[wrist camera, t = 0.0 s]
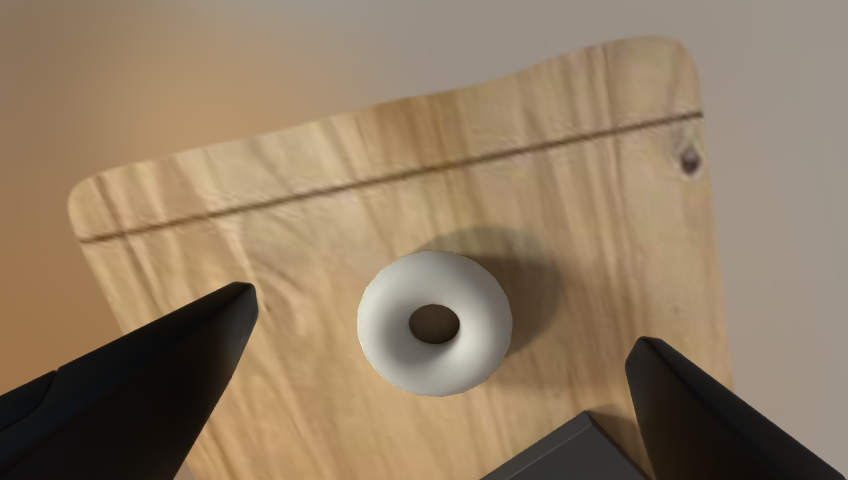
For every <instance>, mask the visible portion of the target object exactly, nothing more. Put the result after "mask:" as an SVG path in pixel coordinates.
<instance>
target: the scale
mask: <svg viewBox="0 0 848 480" xmlns="http://www.w3.org/2000/svg"><path fill="white" fill-rule="evenodd" d="M481 480H651V479H650V478H649V477H648V476H647V475H646V473H645V472H644V471H643V470H642V469H641V468H640V467H639V466H638V465H637V464H636V463H635V462H634V461H633V460H632V459H631V458H630V457H629V456H628V455H627V454H626V452H625V451H624V450H623V449H622V448H621V447H620V446H619V445H618V444H617V443H616V442H615V441H614V440H613V439H612V438H611V437H610V436H609V435H608V434H607V432H606V431H605V430H604V429H603V428H602V427H601V426H600V425H599V424H598V423H597V422H596V421H595V420H594V419H593V418H592V417H591V416H590V415H589V414H588V413H587V411H584V412H582V413H581V414H579V415H578V416H576V417H575V418H573V419H571V420H570V421H568V422H567V423H565V424H564V425H562V426H561V427H559V428H558V429H556V430H555V431H553V432H552V433H550V434H549V435H547V436H546V437H544V438H543V439H541V440H540V441H538V442H537V443H535V444H534V445H532V446H531V447H529V448H528V449H526V450H524V451H523V452H521V453H520V454H518V455H517V456H515V457H514V458H512V459H511V460H509V461H508V462H506V463H505V464H503V465H502V466H500V467H499V468H497V469H496V470H494V471H493V472H491V473H490V474H488V475H487V476H485V477H484V478H482V479H481Z"/></svg>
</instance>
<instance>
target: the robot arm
mask: <svg viewBox="0 0 848 480" xmlns="http://www.w3.org/2000/svg"><path fill="white" fill-rule="evenodd" d="M258 312H259V311H258V303H257V297H256V290H255V287H254V285H253V284H251V283H246V282H238V281H237V282H233V283H230V284H228V285H226V286H224V287H222V288H220V289H218V290H216V291H214V292H212V293H210V294H208V295H206V296H204V297H202V298H200V299H198V300H196V301H194V302H192V303H190V304H187V305H185V306H183V307H181V308H179V309H177V310H175V311H173V312H171V313H169V314H167V315H165V316H163V317H161V318H159V319H157V320H155V321H153V322H151V323H149V324H147V325H145V326H143V327H141V328H139V329H137V330H134V331H132V332H130V333H128V334H126V335H124V336H122V337H120V338H118V339H116V340H114V341H112V342H110V343H108V344H106V345H104V346H102V347H100V348H98V349H96V350H94V351H92V352H90V353H88V354H86V355H83V356H81V357H79V358H77V359H75V360H73V361H71V362H69V363H67V364H65V365H63V366H61V367H59V368H58V370H57V371H55V370H53V371H51V372H49V373H47V374H45V375H42V376H41V377H38V378H36V379H34V380H32V381H30V382H28V383H26V384H24V385H22V386H20V387H18V388H16V389H14V390H11V391H9V392H7V393H5V394H3V395H1V396H0V480H173V479H174V477H175V476H176V474H177V472H178V471H179V469H180V467H181V465H182V463H183V462H184V460H185V458H186V457H187V455H188V453H189V451H190V450H191V448H192V446H193V444H194V443H195V441H196V439H197V437H198V436H199V434H200V432H201V431H202V429H203V427H204V425H205V424H206V422H207V420H208V418H209V417H210V415H211V413H212V411H213V410H214V408H215V406H216V404H217V403H218V401H219V399H220V397H221V396H222V394H223V392H224V390H225V389H226V387H227V385H228V383H229V381H230V380H231V378H232V375H233V373H234V371H235V369H236V367H237V365H238V362H239V360H240V358H241V355H242V353H243V351H244V349H245V346H246V344H247V342H248V339H249V337H250V335H251V333H252V330H253V328H254V326H255V323H256V321H257V318H258ZM625 371H626V376H627V380H628V384H629V388H630V392H631V397H632V401H633V405H634V409H635V413H636V417H637V422H638V426H639V429H640V433H641V436H642V439H643V442H644V445H645V448H646V451H647V454H648V457H649V460H650V463H651V465H652V468H653V471H654V474H655V477H656V480H846V479H845V477H844V476H843V475H842V474H841V473H839V472H838V471H837V470H835V469H834V468H833V467H831V466H830V465H829V464H827V463H826V462H825V461H823V460H822V459H821V458H819V457H818V456H817V455H815V454H814V453H813V452H811V451H810V450H809V449H807V448H806V447H805V446H803V445H802V444H800V443H799V442H798V441H796V440H795V439H794V438H793V437H791V436H790V435H789V434H787V433H786V432H785V431H783V430H782V429H780V428H779V427H778V426H777V425H775V424H774V423H773V422H771V421H770V420H768V419H767V418H766V417H764V416H763V415H762V414H761V413H759V412H758V411H756V410H755V409H754V408H752V407H751V406H750V405H748V404H747V403H746V402H744V401H743V400H742V399H740V398H739V397H738V396H736V395H735V394H734V393H732V392H731V391H730V390H728V389H727V388H726V387H724V386H723V385H722V384H720V383H719V382H718V381H716V380H715V379H714V378H712V377H711V376H710V375H708V374H707V373H706V372H704V371H703V370H702V369H700V368H699V367H698V366H696V365H695V364H694V363H692V362H691V361H690V360H688V359H687V358H686V357H684V356H683V355H682V354H680V353H679V352H678V351H676V350H675V349H674V348H672V347H671V346H670V345H668V344H667V343H666V342H664V341H663V340H661V339H659V338H654V337H646V336H642V337H640V338H639V339H638V340H637V341H636V343H635V345H634V347H633V348H632V350H631V352H630V354H629V356H628V358H627V360H626V363H625Z"/></svg>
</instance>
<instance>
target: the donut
mask: <svg viewBox="0 0 848 480" xmlns="http://www.w3.org/2000/svg"><path fill="white" fill-rule="evenodd" d="M429 304H438V305H442V306H445V307H448V308H449V309H451V310H452V311H453V312H455V313H456V315H457V316H458V318H459V321H460V329H459V331H458V333H457V335H456V336H455V337H454V338H453V339H451V340H450V341H448V342H445V343H441V344H428V343H425V342H423V341H420V340H419V339H417V338H416V337H415V336H414V335H413V334H412V332H411V331H410V328H409V319H410V316H411V315H412V314H413V312H414V311H415V310H417V309H418V308H420V307H422V306H425V305H429ZM512 326H513V319H512V314H511V310H510V306H509V301H508V297H507V296H506V294H505V293H504V291H503V289H502V288H501V286H500V285H499V283H498V282H497V280H496V279H495V277H494V276H493V275H492V274H490V273H489V272H488V271H487V270H485V269H484V268H483V267H482V266H480V265H479V264H478V263H477V262H475V261H474V260H471V259H469V258H466V257H463V256H461V255H458V254H455V253H453V252H445V251H428V250H426V251H422V252H418V253H414V254H410V255H406V256H402V257H401V258H399V259H397V260H396V261H394V262H393V263H391V264H389V265H388V266H386V267H384V268H383V269H382V270H381V271H380V272H379V273H378V274H377V275H376V277H375V278H374V279H373V280H372V282H371V283H370V284H369V285H368V286H367V288H366V289H365V292H364V295H363V298H362V300H361V303H360V306H359V309H358V337H359V340H360V343H361V346H362V348H363V351H364V354H365V356H366V358H367V359H368V360H369V362H370V363H371V364H372V366H373V367H374V368H375V370H376V371H377V372H378V373H379V375H380V376H382V377H383V378H385V379H386V380H387V381H389V382H390V383H392V384H393V385H394V386H396V387H397V388H399V389H402V390H405V391H408V392H411V393H414V394H417V395H421V396H435V397H443V396H448V395H453V394H458V393H463V392H465V391H467V390H469V389H471V388H473V387H475V386H477V385H479V384H481V383H483V382H484V381H485V380H486V379H487V378H488V377H489V376H490V375H491V374H492V373H493V372H494V371H495V370H496V369H497V368H498V367H499V366H500V364H501V362H502V360H503V358H504V356H505V354H506V352H507V350H508V348H509V346H510V342H511V334H512Z"/></svg>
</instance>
